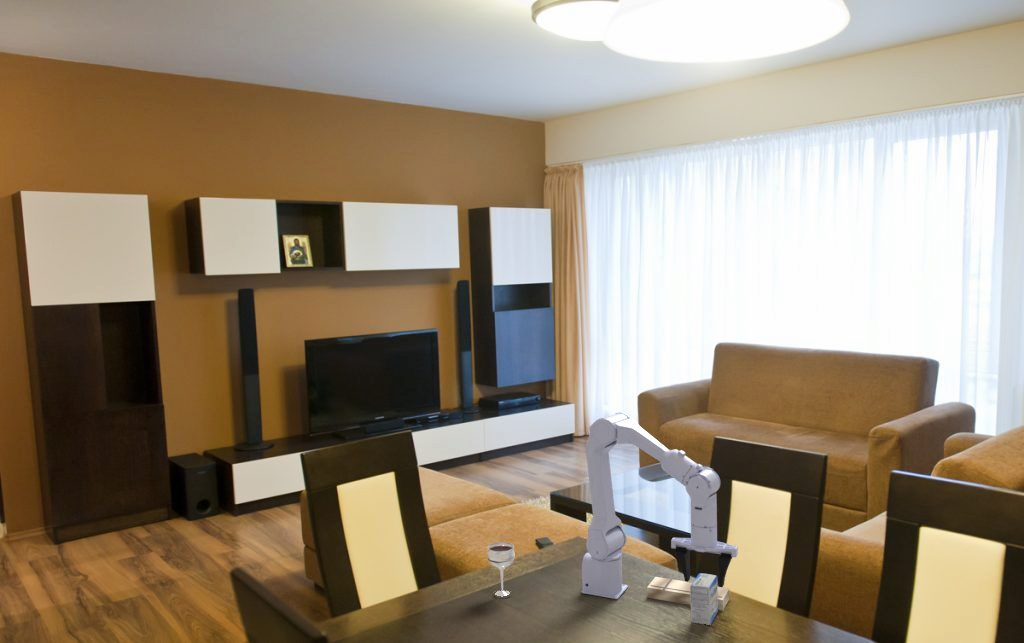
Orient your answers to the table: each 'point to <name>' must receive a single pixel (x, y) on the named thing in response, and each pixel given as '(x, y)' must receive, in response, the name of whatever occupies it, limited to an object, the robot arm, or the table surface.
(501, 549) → the wineglass
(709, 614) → the medicine box
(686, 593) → the cream striped flat box
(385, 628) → the table surface
